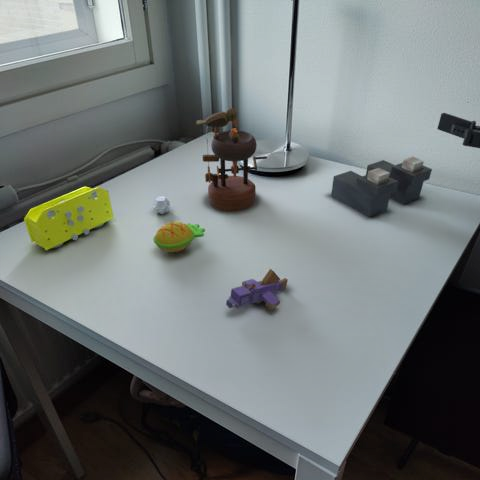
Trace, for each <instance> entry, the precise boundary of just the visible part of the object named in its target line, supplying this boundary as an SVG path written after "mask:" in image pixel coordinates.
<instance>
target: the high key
mask: <svg viewBox="0 0 480 480" xmlns="http://www.w3.org/2000/svg"><path fill="white" fill-rule="evenodd" d="M389 174H390V173H389V172H387V171H385V170H382V169H380V168H377V169H374V170H371V171H368V177H367V180H369V181H371V182H373V183H375V184H377V185H379V184H382V183H385V182H387V181H388V178H389Z"/></svg>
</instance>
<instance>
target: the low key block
mask: <svg viewBox="0 0 480 480" xmlns="http://www.w3.org/2000/svg"><path fill="white" fill-rule="evenodd" d="M402 164H403V162H401V163H398V164H394V163H392V162H389V161H387V160H384V159H382V160H379V161H376V162H373V163H370V164H367V166H366V171H365V175H368V171H371V170H374V169H377V168H380V169H382V170H385V171H387V172H389V173H390V174H389V177H391V178H393V179H395V180H397V181H398V185H397V189H396V192H393V193H391V194H390V198H389V199H392V200H394V201H396V202H398V203H400V204H402V205H405V204H408V203H411V202H413V201H416V200H418V199H420V197H421V193H422V189H423V187H424V182H426V181H428V180H430V178H431V174H432V171H433V169H432V168H430V167H428V166H425V165H423V167H422V170H419V171H416V172H413V173H412V172H410V171H408V170H406V169H403V168H402Z"/></svg>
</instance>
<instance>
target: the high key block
mask: <svg viewBox="0 0 480 480" xmlns="http://www.w3.org/2000/svg"><path fill="white" fill-rule="evenodd" d="M367 177H368V175H366V174H365V175H360V174H359V173H357V172H355V171H353V170H349V171H345V172H342V173H340V174H336V175H333V179H332V186H331V194H330V196H331V197H333V198H334V199H336V200H338V201H339V202H341V203H343V204H345V205H347V206H349V207H350V208H352V209H353V210H356V211H357V212H358V213H361V214H362V215H364V216H366V217H368V218H373V217H374V216H376V215H379V214H382V213H385V212H387V210H388V207H389V203H390V199H391V198H390V194H391V193H393V192H396V189H397V185H398V181H397V180H395V179H393V178H391V177H389V178H388V181H387V182H385V183H382V184H379V185H377V184H375V183H373V182H371V181H369V180H367Z"/></svg>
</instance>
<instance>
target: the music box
mask: <svg viewBox="0 0 480 480" xmlns="http://www.w3.org/2000/svg"><path fill="white" fill-rule="evenodd" d="M237 117H238V112H237V110H236V109H235V108H233V107H229V108H227V109H226V111H218V112H216V113H213V114H211V115H210V116H208V117H207V118H205V119H197V120H196V124H195V126H201V125H205V126H206V129H205V132H206V133H208V128H209V127H210V128H213V129H214V130H213V133H214V135H213V137H212V140H211V145H210V146H211V147H210V148H211V151H212V153H213V154H203V155H202V162H205V163H207V172H206V173H205V174H204V180H205V183H209V184H208V187H207V193H208V194H207V195H208V203H209V205H210V206H211V207H212V208H214V209H215V210H218V211H223V212H240V211H245V210H247V209H249V208H251V207H253V205H254V204H255V203H256V193H257V191H256V189H257V188H256V184H255V183H254V182H253V181H251V179H249V172H251V170H254V171H258V165H257V160H267V159H268V157H267V156H265V155H263V156H255V155H254V154H255V152H256V151H257V145H258V144H257V140H256V138H255V137H254V136H253V134H252V133H250V132H247V131H244V130H238V129H237V127H238V124H237V123H238V122H237ZM229 122H231V123H232V124H233V125H234V126H235V127H236V128H233V127H232V128H230V129H231V130H226V131H221V132H218V128H224V127H226V126H228V124H229ZM206 147H207V148H206V150H207V152H209V141H208V139H206ZM251 157H252V161H253V166H250V165H249V159H250V158H251ZM241 161H243V163H242V166H243V167H239V165H238V162H241ZM209 162H211V163H212V162H213V163H215V162H216V163H218V162H220V164H219V165H220V167H219V166H218V165H217V166H216V173H212V172H211V169H210V168H211V167H210V163H209ZM226 162H231V163H232V165H231V166H230V168H226ZM240 171H243V172H242V173H243V174H242V175H243V176H241V175H237V174H239V173H240ZM226 172H231V174H232V175H229V174H228V173H226Z"/></svg>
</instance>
